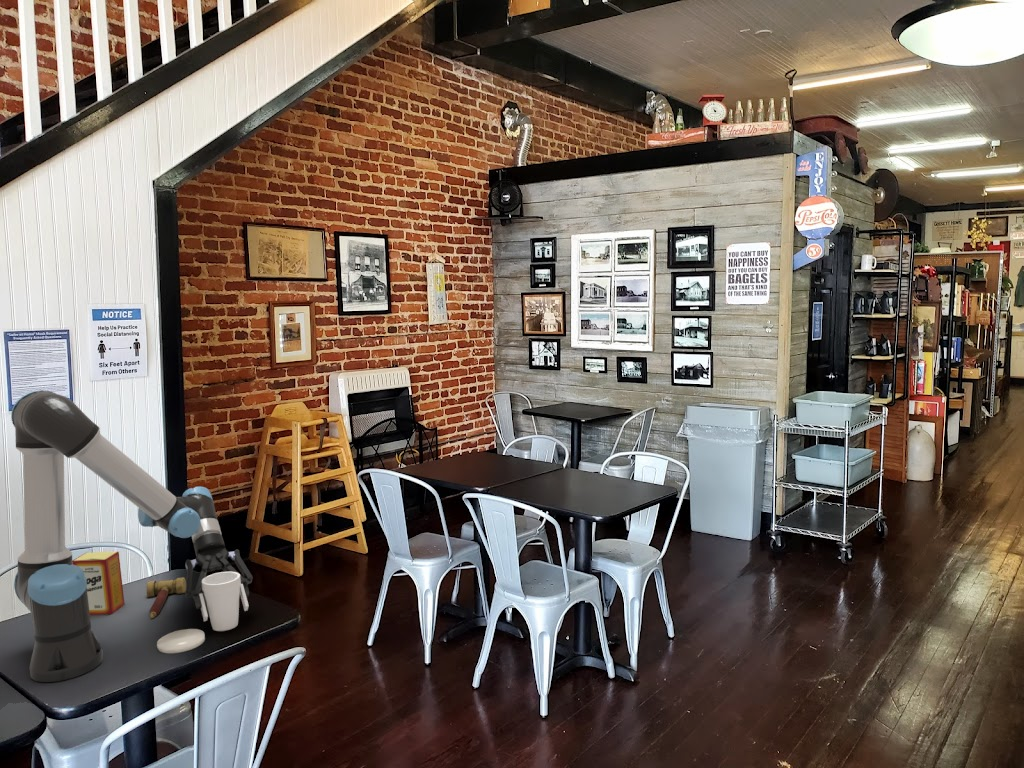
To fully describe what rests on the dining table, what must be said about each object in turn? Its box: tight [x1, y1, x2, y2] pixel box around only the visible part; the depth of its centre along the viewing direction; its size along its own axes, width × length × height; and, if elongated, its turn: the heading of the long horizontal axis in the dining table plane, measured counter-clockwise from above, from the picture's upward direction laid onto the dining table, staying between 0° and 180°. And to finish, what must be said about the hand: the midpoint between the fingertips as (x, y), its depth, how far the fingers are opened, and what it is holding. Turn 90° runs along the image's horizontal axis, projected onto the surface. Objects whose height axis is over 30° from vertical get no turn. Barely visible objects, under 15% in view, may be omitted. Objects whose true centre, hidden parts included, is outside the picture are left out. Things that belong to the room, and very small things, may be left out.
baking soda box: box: [72, 551, 126, 616], centre depth 218 cm, size 10×6×16 cm
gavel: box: [145, 576, 187, 619], centre depth 221 cm, size 21×5×10 cm
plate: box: [156, 628, 206, 654], centre depth 195 cm, size 11×11×1 cm
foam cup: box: [201, 571, 241, 632], centre depth 204 cm, size 10×9×13 cm
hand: (226, 613), depth 201 cm, fingers closed on foam cup, 9 cm apart
